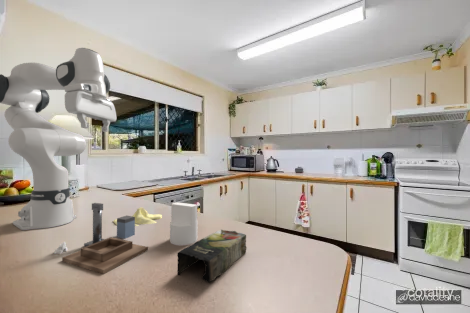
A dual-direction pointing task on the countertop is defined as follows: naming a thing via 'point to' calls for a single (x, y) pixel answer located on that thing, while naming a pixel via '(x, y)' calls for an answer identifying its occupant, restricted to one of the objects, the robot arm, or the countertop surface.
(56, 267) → the countertop surface
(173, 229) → the cylinder with rectangular tab
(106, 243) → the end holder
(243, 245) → the juice carton
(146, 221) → the cloth
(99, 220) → the post
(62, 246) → the white irregular angular piece
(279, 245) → the countertop surface
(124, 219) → the grey banded block
